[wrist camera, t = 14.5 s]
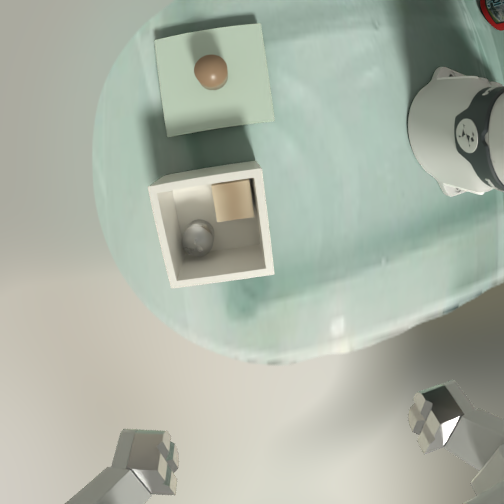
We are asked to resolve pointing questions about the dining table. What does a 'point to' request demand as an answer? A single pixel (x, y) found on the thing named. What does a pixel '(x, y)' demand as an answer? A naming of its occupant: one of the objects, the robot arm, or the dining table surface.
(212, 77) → the lid
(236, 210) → the birch block
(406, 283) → the dining table surface
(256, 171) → the tub
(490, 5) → the beverage can
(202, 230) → the metal ball
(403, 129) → the dining table surface
